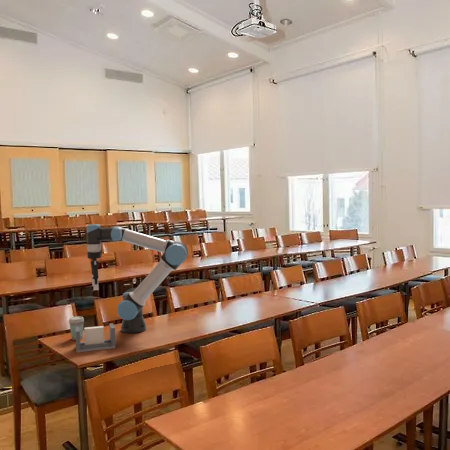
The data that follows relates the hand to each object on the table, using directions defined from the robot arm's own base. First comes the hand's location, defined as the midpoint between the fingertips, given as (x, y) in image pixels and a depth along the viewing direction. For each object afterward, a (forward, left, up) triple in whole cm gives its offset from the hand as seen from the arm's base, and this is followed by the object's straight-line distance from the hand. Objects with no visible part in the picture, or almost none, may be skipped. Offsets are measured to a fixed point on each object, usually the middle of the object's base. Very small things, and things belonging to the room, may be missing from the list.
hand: (95, 287), depth 278 cm
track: (+2, +20, -29) cm, 35 cm away
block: (+3, +20, -28) cm, 34 cm away
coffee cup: (+11, -1, -29) cm, 31 cm away
